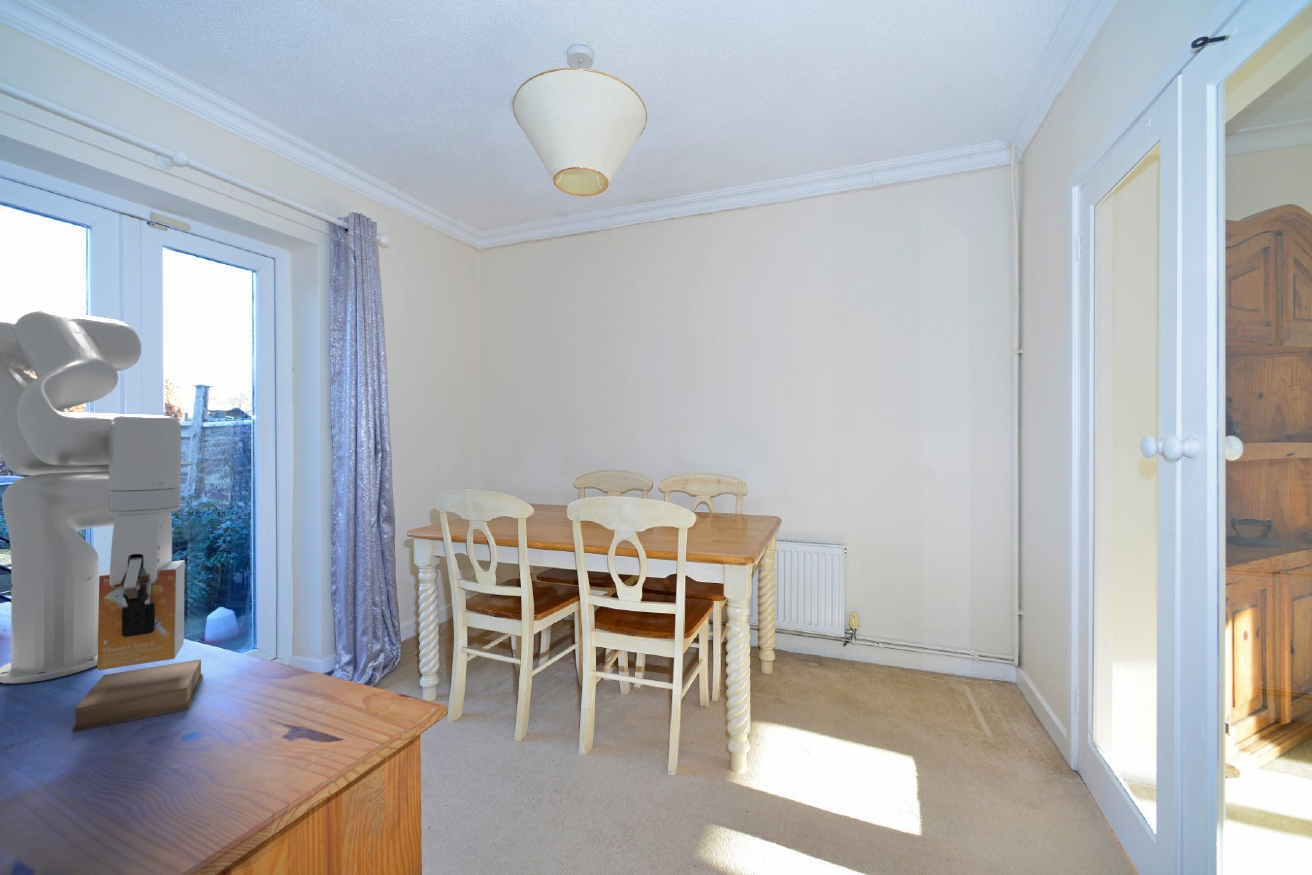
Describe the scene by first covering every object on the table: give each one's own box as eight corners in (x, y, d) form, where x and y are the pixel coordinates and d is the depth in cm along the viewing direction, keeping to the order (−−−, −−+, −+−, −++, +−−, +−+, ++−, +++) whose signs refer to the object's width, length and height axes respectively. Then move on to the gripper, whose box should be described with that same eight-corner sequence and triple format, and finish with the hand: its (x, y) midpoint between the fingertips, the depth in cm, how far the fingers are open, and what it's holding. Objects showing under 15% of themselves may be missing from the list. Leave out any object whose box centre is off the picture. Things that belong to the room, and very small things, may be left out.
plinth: (102, 694, 79) (102, 674, 79) (202, 677, 85) (202, 658, 85) (72, 732, 69) (72, 708, 69) (188, 709, 76) (188, 687, 76)
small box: (96, 672, 72) (96, 575, 72) (111, 655, 78) (111, 565, 78) (176, 659, 77) (176, 567, 77) (185, 644, 82) (185, 558, 82)
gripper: (127, 496, 82) (127, 613, 82) (87, 510, 68) (86, 652, 68) (191, 494, 86) (191, 605, 87) (166, 506, 72) (166, 641, 72)
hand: (145, 625), depth 77 cm, fingers closed on small box, 6 cm apart
